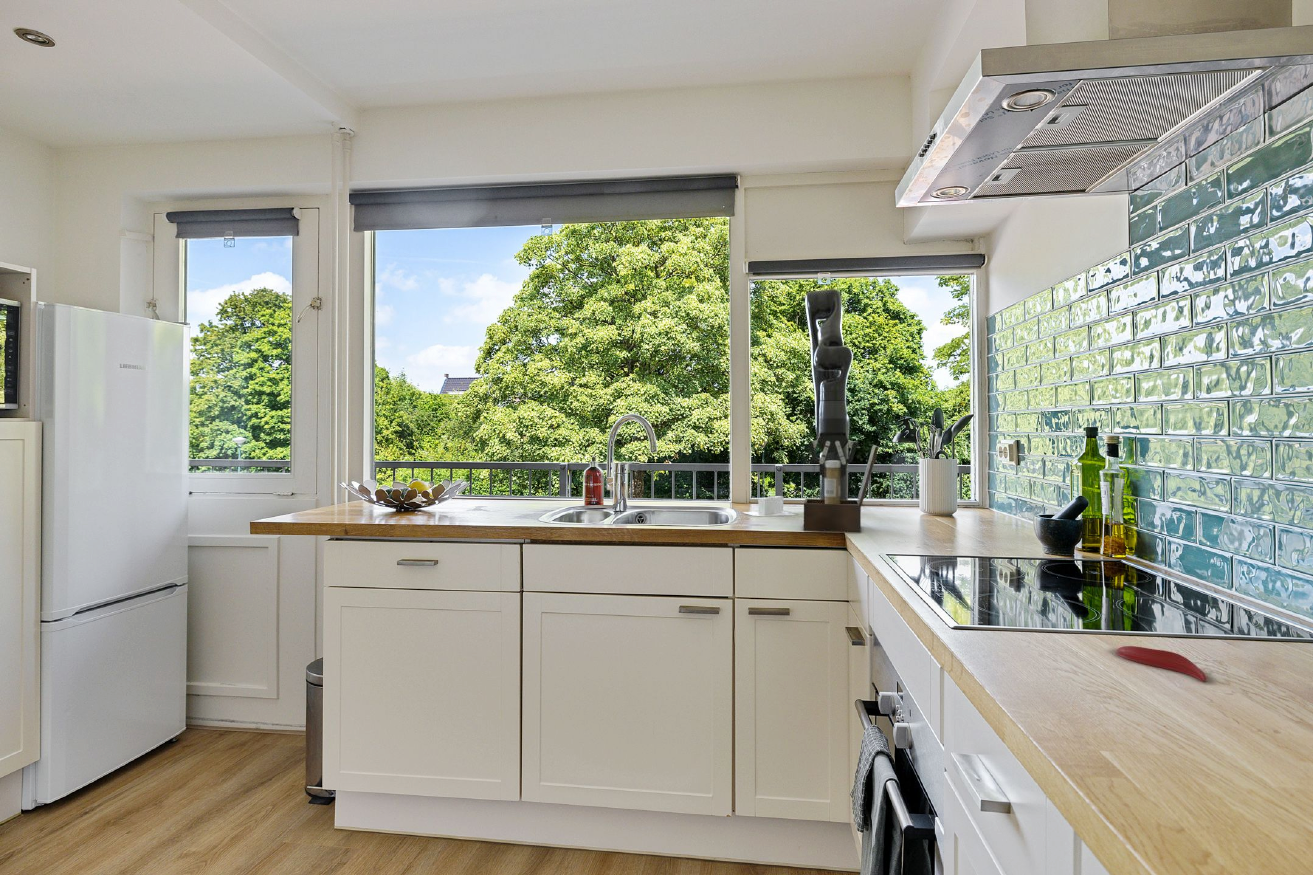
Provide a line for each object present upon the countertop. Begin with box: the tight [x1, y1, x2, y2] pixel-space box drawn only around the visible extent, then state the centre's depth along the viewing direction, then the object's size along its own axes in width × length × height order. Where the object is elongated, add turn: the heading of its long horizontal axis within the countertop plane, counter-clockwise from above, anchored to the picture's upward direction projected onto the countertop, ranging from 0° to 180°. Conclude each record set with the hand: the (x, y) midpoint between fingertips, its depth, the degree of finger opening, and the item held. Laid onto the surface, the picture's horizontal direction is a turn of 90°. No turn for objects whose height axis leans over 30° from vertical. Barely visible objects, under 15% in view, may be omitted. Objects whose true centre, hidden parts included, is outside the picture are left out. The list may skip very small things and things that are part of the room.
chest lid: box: [857, 444, 879, 505], centre depth 207 cm, size 16×13×1 cm
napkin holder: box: [741, 495, 796, 517], centre depth 243 cm, size 15×11×6 cm
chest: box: [803, 498, 862, 534], centre depth 209 cm, size 15×13×8 cm
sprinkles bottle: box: [824, 460, 841, 504], centre depth 209 cm, size 5×5×14 cm
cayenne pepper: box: [1115, 645, 1207, 683], centre depth 91 cm, size 12×5×2 cm, turn 8°
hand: (832, 477), depth 209 cm, fingers closed on sprinkles bottle, 4 cm apart
